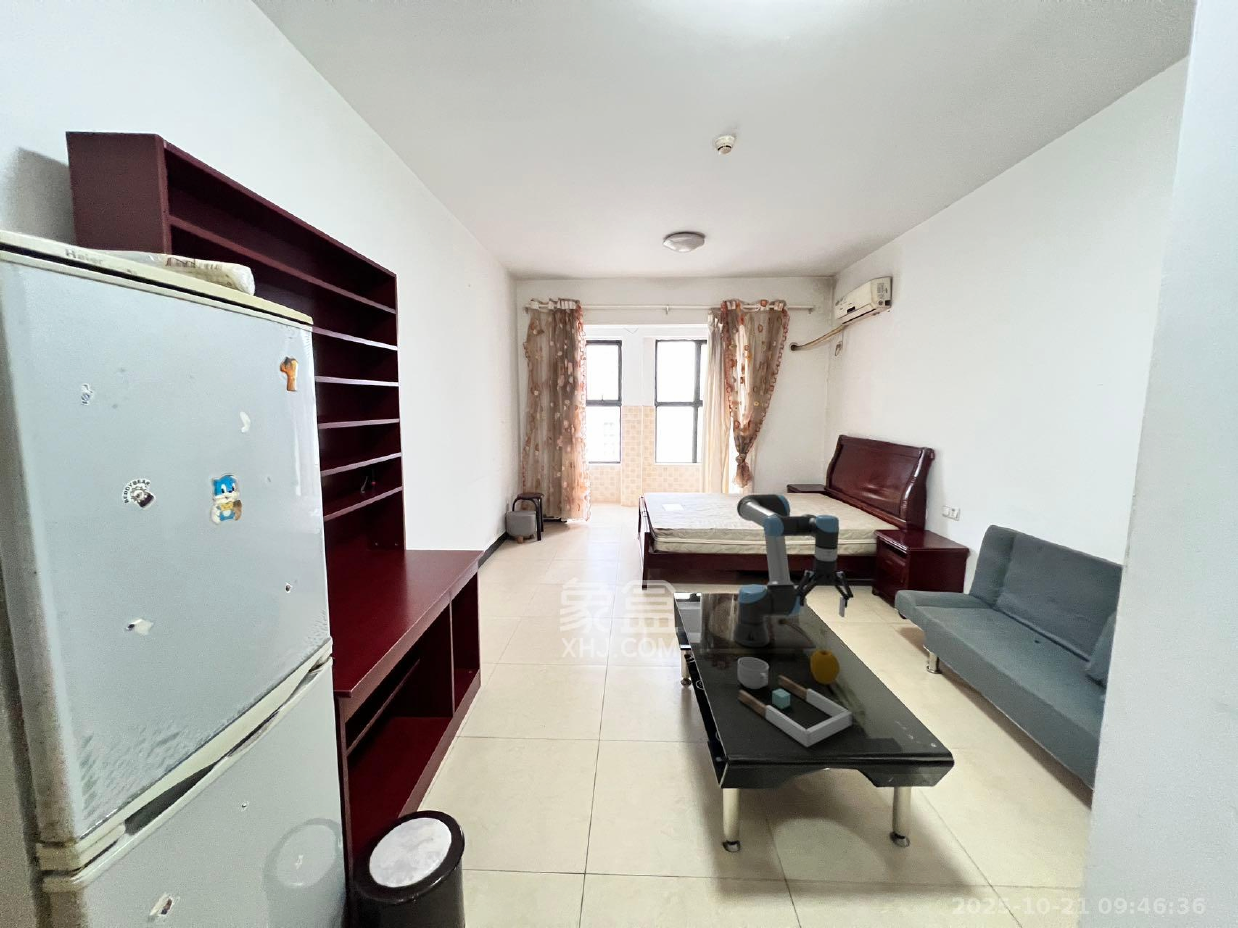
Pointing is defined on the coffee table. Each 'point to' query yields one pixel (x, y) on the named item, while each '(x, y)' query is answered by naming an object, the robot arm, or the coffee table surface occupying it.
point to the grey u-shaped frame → (819, 731)
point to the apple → (824, 666)
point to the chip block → (781, 698)
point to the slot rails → (761, 707)
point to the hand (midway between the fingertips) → (822, 615)
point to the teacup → (753, 672)
